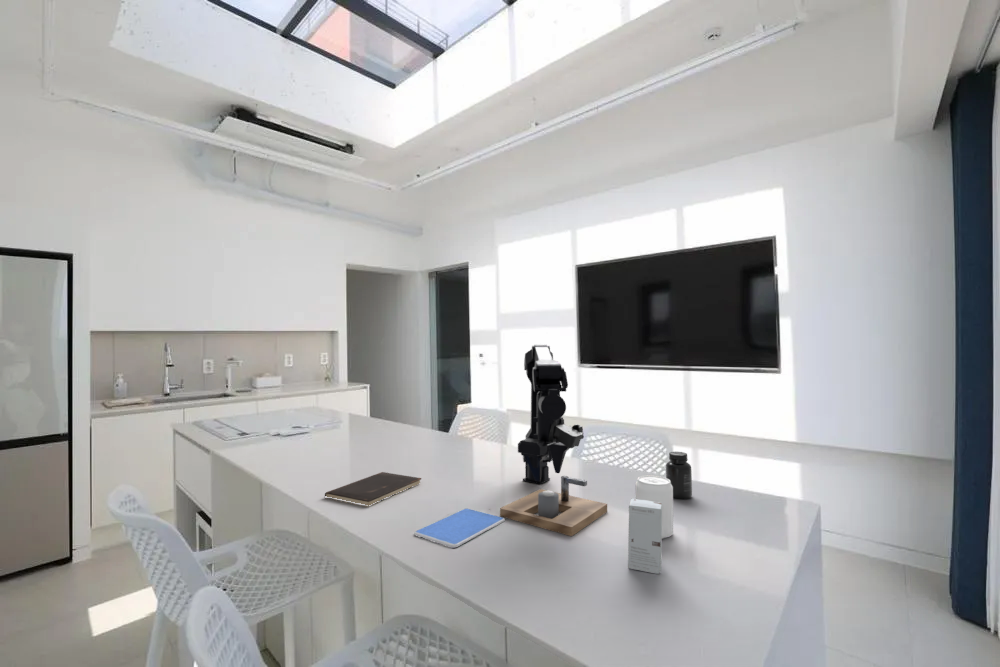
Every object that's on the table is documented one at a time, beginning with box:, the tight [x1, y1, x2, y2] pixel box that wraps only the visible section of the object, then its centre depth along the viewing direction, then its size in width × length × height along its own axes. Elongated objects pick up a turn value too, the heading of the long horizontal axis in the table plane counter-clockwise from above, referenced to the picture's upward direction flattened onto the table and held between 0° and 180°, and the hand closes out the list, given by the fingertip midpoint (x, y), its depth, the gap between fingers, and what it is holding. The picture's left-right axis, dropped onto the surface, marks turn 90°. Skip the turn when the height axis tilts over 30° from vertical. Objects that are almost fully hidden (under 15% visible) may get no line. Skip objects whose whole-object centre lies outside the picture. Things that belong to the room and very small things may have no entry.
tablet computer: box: [413, 508, 506, 549], centre depth 108 cm, size 19×13×1 cm, turn 146°
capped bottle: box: [537, 490, 560, 519], centre depth 114 cm, size 5×5×6 cm
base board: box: [499, 488, 608, 537], centre depth 116 cm, size 20×19×2 cm
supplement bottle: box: [665, 451, 693, 500], centre depth 131 cm, size 7×7×12 cm
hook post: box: [560, 475, 588, 501], centre depth 119 cm, size 7×2×6 cm, turn 53°
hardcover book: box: [324, 471, 422, 507], centre depth 135 cm, size 16×23×2 cm
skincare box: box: [627, 498, 663, 575], centre depth 89 cm, size 6×4×12 cm
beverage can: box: [634, 474, 674, 539], centre depth 105 cm, size 8×8×12 cm
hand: (548, 477), depth 114 cm, fingers open, 9 cm apart
